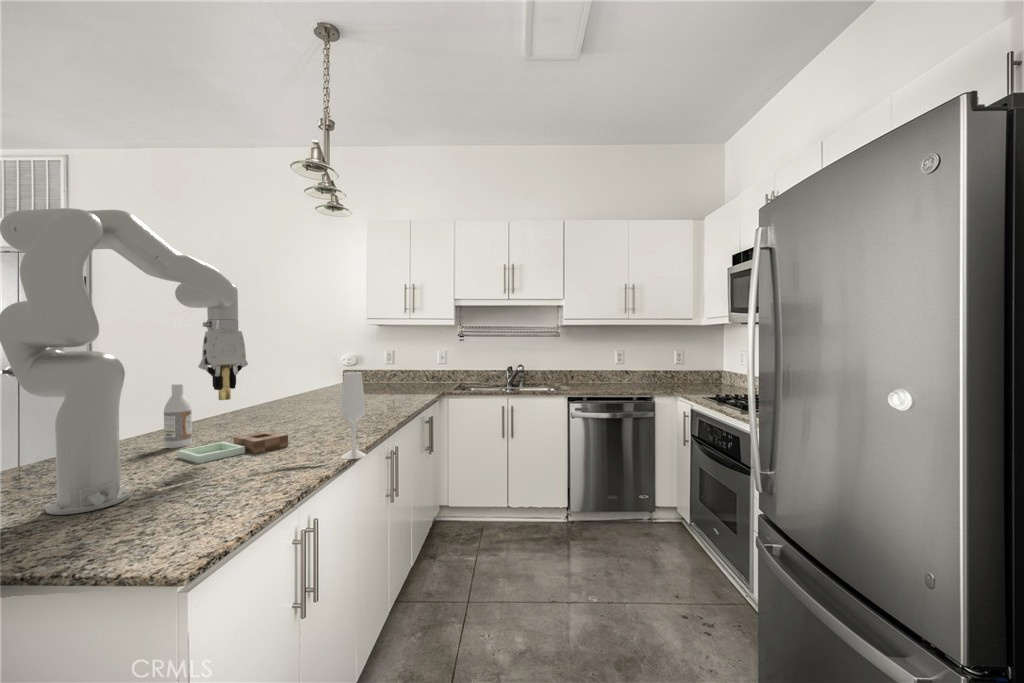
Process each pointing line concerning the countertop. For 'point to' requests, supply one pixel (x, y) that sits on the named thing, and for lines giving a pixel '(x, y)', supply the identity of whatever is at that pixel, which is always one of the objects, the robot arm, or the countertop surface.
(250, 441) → the bore block
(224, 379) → the gold cylinder
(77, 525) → the countertop surface
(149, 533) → the countertop surface
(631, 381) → the countertop surface
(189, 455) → the tray
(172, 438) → the bath foam
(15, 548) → the countertop surface
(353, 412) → the champagne flute
